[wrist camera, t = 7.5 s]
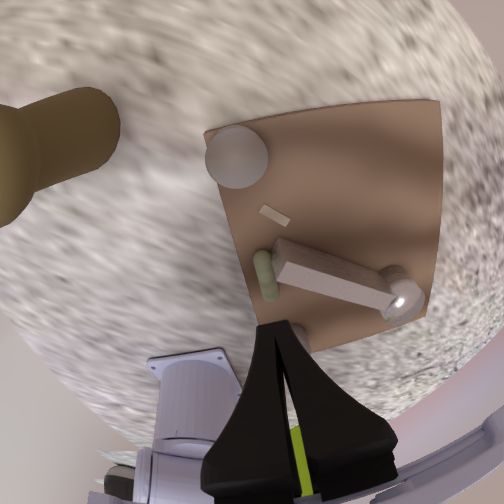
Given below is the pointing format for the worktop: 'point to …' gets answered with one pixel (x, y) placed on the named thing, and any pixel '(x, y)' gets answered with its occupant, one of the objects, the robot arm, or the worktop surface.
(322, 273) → the lever handle
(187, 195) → the worktop surface
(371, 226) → the brown latch board
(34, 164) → the cork
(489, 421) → the robot arm
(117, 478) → the black rounded dome
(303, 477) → the soap dispenser
